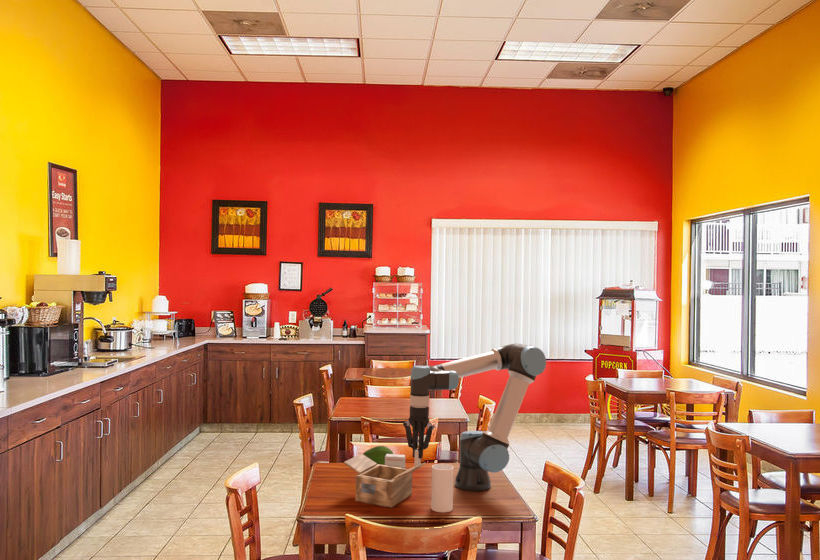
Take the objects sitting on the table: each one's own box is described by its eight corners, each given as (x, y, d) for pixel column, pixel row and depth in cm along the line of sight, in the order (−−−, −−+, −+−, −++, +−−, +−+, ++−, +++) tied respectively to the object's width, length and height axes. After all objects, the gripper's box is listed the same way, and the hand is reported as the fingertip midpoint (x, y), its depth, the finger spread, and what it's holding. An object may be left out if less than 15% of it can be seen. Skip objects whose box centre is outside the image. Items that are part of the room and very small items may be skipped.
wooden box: (412, 493, 254) (413, 469, 255) (390, 508, 237) (391, 482, 237) (378, 487, 261) (378, 463, 261) (354, 501, 244) (355, 476, 244)
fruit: (360, 470, 285) (361, 448, 285) (362, 464, 295) (362, 443, 295) (393, 470, 285) (394, 449, 286) (393, 464, 295) (394, 443, 295)
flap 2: (409, 470, 252) (425, 463, 249) (393, 479, 240) (410, 473, 237) (408, 468, 252) (425, 462, 249) (393, 477, 240) (410, 471, 237)
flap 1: (376, 463, 259) (361, 453, 262) (360, 472, 246) (344, 461, 249) (376, 464, 259) (361, 455, 262) (359, 473, 246) (343, 463, 250)
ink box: (405, 481, 271) (405, 454, 271) (403, 485, 266) (404, 457, 266) (385, 480, 271) (386, 453, 271) (384, 483, 266) (384, 456, 267)
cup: (430, 504, 242) (430, 463, 242) (450, 504, 243) (451, 463, 243) (432, 512, 234) (433, 469, 234) (454, 512, 235) (455, 469, 235)
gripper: (438, 406, 244) (436, 466, 244) (408, 402, 249) (406, 461, 249) (430, 409, 237) (428, 471, 237) (400, 405, 243) (398, 466, 243)
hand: (417, 466), depth 243 cm, fingers closed
